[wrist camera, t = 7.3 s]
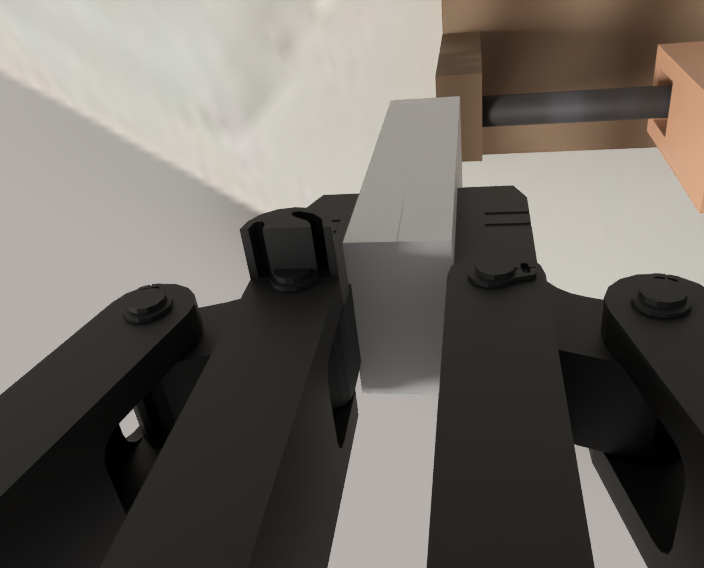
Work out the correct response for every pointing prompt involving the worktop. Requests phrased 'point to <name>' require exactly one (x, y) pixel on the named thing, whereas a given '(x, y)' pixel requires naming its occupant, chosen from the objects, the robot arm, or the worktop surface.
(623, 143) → the brown rod stand
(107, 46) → the worktop surface
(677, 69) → the tan wooden l-shaped block
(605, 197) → the worktop surface
